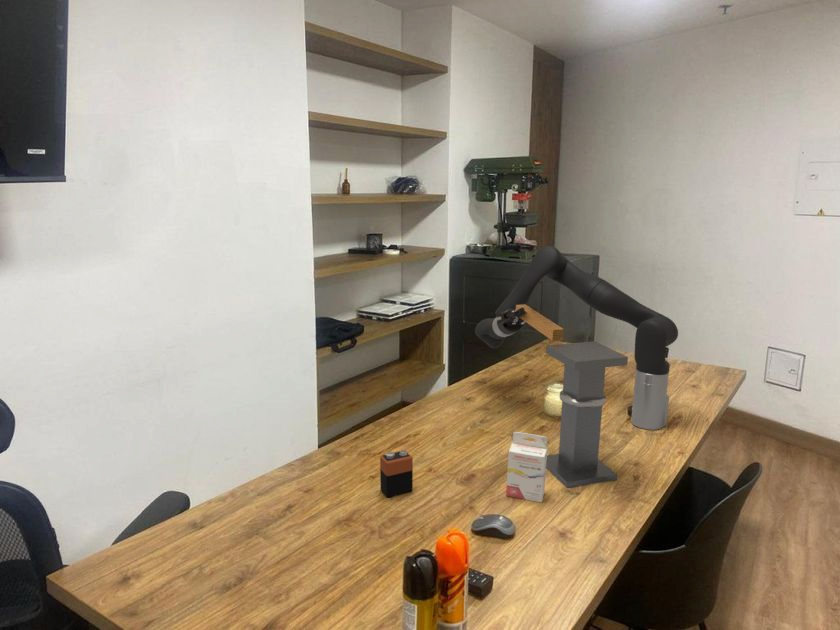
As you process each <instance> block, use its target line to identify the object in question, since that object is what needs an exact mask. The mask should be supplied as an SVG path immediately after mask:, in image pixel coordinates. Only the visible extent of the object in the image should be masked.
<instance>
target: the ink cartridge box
mask: <svg viewBox="0 0 840 630" xmlns="http://www.w3.org/2000/svg"><path fill="white" fill-rule="evenodd" d="M529 438H531V439H532V440H527V439H529ZM533 440H534V441H533ZM547 443H548V437H547V436H544V435H538V434H534V433H533V434H532V433H526V432H520V431H519V432H518V431H513V432H512V442H511V445H510V448H509V449H508V457H507V473H506V492H505V495H506V496H507V497H511V498H517V499H522V500H527V501H532V502H537V503H542V502H543V497H544V494H545V488H546V475H547V473H546V472H547V468H546V461H547V455H548V448H547V447H548V444H547Z"/></svg>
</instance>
